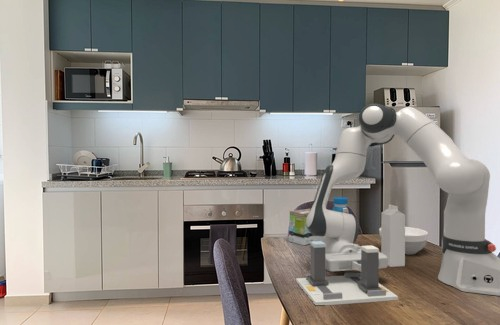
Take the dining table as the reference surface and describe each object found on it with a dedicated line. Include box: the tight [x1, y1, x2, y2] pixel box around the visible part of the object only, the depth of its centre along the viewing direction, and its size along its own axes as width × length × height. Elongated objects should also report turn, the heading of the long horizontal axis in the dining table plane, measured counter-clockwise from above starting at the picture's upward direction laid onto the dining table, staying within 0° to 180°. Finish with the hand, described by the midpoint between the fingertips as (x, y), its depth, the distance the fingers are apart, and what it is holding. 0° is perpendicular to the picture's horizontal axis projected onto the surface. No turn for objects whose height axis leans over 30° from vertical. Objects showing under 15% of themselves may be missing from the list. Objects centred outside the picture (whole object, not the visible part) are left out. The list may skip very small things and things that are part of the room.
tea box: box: [288, 208, 323, 246], centre depth 159 cm, size 15×10×15 cm
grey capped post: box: [307, 241, 329, 286], centre depth 103 cm, size 5×5×12 cm
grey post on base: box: [358, 245, 382, 293], centre depth 97 cm, size 5×5×12 cm
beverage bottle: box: [331, 196, 350, 214], centre depth 165 cm, size 8×8×20 cm
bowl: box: [378, 226, 429, 256], centre depth 142 cm, size 19×19×9 cm
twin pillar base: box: [295, 271, 399, 306], centre depth 100 cm, size 24×18×2 cm
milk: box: [380, 204, 406, 268], centre depth 124 cm, size 6×6×22 cm
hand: (366, 269), depth 99 cm, fingers closed, pressing on grey post on base
